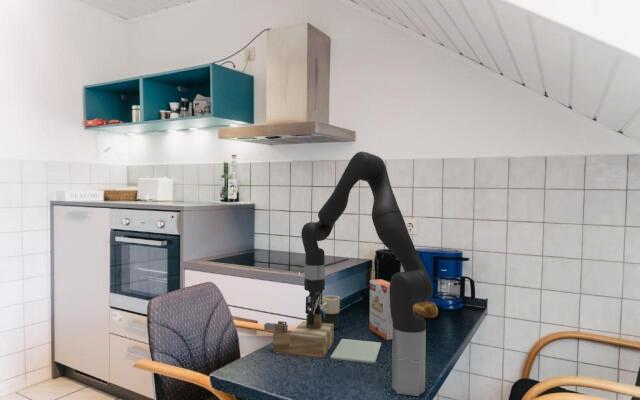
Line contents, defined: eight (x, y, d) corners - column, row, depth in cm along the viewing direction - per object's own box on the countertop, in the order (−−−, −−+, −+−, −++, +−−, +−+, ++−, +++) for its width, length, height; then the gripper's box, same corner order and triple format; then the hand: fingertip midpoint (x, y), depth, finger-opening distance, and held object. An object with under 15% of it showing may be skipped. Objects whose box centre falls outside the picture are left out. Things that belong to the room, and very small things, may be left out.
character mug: (331, 323, 180) (331, 293, 180) (345, 326, 176) (345, 296, 176) (316, 329, 171) (316, 298, 172) (330, 333, 167) (330, 300, 167)
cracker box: (368, 330, 172) (369, 279, 172) (381, 328, 174) (381, 278, 174) (385, 341, 158) (386, 286, 158) (399, 339, 161) (399, 285, 161)
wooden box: (322, 358, 140) (323, 328, 140) (272, 352, 145) (273, 324, 145) (333, 342, 156) (333, 316, 156) (288, 338, 160) (288, 312, 160)
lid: (323, 342, 140) (323, 324, 140) (289, 339, 143) (289, 321, 144) (333, 328, 156) (333, 312, 156) (303, 326, 159) (303, 309, 159)
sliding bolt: (285, 332, 145) (285, 323, 145) (264, 330, 147) (264, 321, 147) (287, 330, 147) (287, 321, 147) (266, 328, 149) (266, 320, 149)
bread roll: (406, 315, 194) (407, 298, 194) (416, 311, 202) (416, 295, 202) (432, 321, 186) (433, 303, 186) (441, 316, 193) (441, 299, 194)
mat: (374, 363, 136) (375, 361, 136) (330, 358, 140) (330, 356, 140) (381, 344, 155) (381, 342, 155) (341, 340, 159) (341, 338, 159)
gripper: (310, 272, 160) (309, 315, 160) (298, 279, 146) (298, 326, 146) (329, 274, 158) (328, 316, 158) (319, 281, 144) (319, 328, 144)
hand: (314, 321), depth 152 cm, fingers open, 8 cm apart
